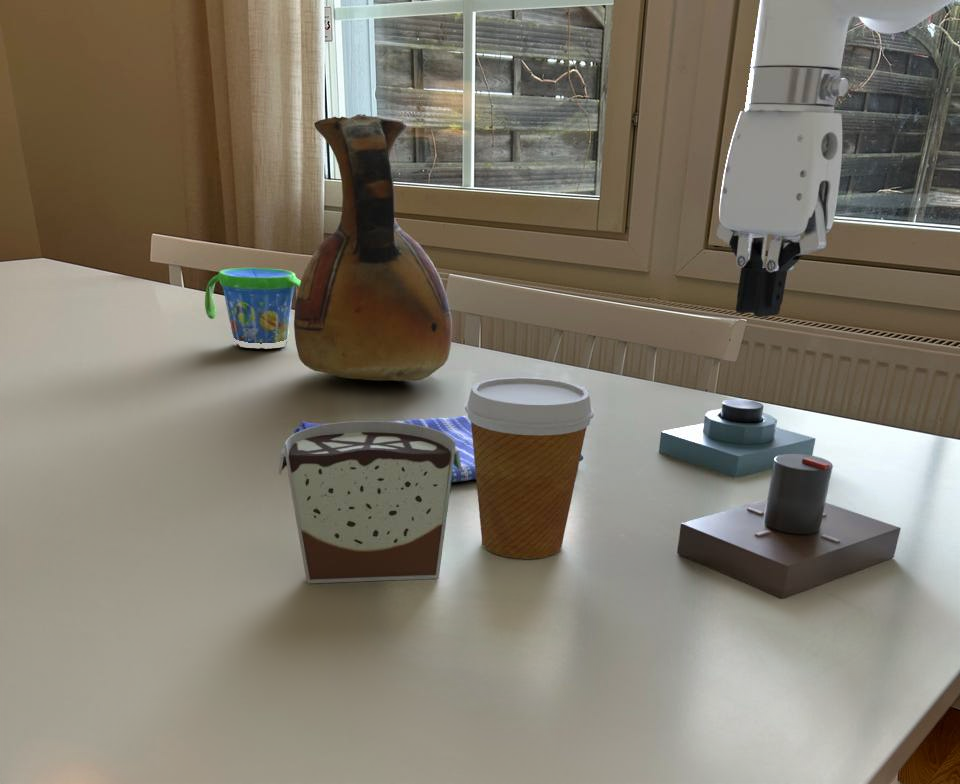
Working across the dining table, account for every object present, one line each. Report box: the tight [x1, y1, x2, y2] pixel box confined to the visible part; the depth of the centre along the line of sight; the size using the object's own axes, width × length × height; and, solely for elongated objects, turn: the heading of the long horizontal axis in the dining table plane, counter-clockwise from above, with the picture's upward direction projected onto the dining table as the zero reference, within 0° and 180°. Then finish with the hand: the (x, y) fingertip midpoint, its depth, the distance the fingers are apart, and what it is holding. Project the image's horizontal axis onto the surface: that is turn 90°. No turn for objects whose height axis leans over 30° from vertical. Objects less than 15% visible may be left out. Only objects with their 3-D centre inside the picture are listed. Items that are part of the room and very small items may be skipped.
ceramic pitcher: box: [293, 113, 453, 382], centre depth 119 cm, size 20×20×30 cm
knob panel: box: [676, 499, 902, 599], centre depth 76 cm, size 14×10×3 cm
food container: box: [278, 420, 462, 584], centre depth 70 cm, size 12×6×10 cm, turn 100°
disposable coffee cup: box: [464, 376, 595, 560], centre depth 74 cm, size 10×10×12 cm
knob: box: [764, 454, 834, 534], centre depth 74 cm, size 4×4×5 cm
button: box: [720, 398, 764, 423], centre depth 98 cm, size 4×4×2 cm
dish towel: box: [293, 415, 584, 483], centre depth 95 cm, size 17×24×3 cm
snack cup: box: [204, 267, 301, 344], centre depth 140 cm, size 16×10×10 cm
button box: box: [658, 408, 816, 479], centre depth 100 cm, size 12×10×4 cm
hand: (757, 312), depth 94 cm, fingers closed
